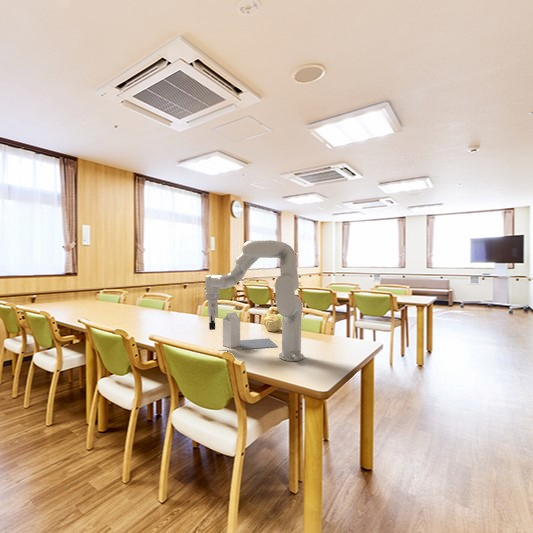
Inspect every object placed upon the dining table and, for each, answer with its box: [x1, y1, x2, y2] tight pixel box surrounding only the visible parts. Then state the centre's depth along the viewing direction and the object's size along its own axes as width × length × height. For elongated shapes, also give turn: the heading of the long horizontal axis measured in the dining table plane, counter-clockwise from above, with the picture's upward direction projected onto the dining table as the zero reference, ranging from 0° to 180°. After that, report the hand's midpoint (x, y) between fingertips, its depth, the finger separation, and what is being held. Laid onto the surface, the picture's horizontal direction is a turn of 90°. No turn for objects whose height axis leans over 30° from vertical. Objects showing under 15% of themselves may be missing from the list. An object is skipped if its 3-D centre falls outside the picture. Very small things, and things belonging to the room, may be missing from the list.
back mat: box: [239, 337, 278, 350], centre depth 179 cm, size 18×20×1 cm
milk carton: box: [222, 311, 241, 349], centre depth 174 cm, size 7×7×19 cm
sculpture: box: [263, 315, 282, 333], centre depth 213 cm, size 11×12×11 cm
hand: (212, 329), depth 171 cm, fingers closed
